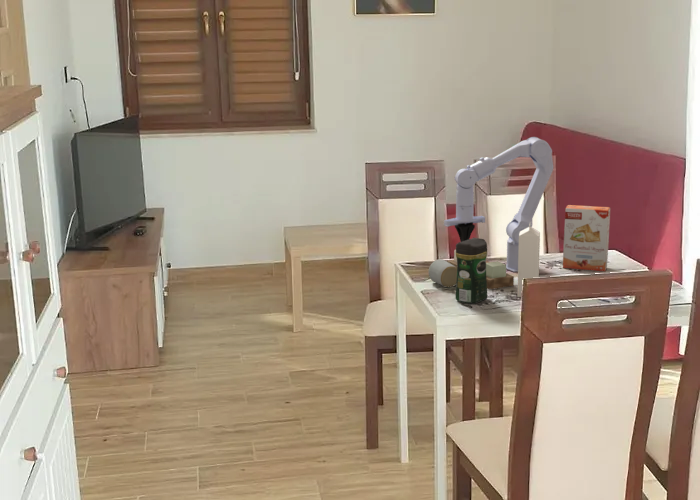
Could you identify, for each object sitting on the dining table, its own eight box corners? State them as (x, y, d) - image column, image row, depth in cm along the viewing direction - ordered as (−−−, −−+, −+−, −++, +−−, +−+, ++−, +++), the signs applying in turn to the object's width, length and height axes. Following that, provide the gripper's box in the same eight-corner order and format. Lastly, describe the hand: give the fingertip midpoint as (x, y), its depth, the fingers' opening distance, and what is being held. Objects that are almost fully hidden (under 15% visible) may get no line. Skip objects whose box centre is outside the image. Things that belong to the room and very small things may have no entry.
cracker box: (562, 268, 287) (564, 207, 282) (565, 264, 292) (567, 204, 287) (605, 272, 281) (608, 209, 276) (607, 267, 287) (610, 206, 282)
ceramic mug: (441, 289, 266) (441, 265, 264) (427, 283, 273) (428, 260, 272) (470, 285, 271) (470, 262, 269) (456, 279, 278) (456, 256, 276)
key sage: (497, 273, 273) (497, 261, 272) (506, 277, 268) (506, 264, 268) (483, 275, 271) (484, 263, 270) (492, 279, 267) (492, 266, 266)
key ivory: (467, 259, 290) (467, 248, 289) (474, 263, 286) (474, 251, 285) (454, 261, 288) (454, 250, 287) (461, 265, 284) (461, 253, 283)
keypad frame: (469, 265, 293) (469, 257, 292) (513, 285, 268) (513, 276, 268) (447, 269, 290) (447, 260, 289) (489, 289, 265) (489, 280, 265)
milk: (517, 297, 257) (518, 225, 252) (518, 291, 263) (519, 221, 257) (538, 298, 255) (539, 225, 250) (538, 292, 261) (540, 221, 256)
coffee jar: (469, 293, 261) (470, 234, 257) (491, 298, 256) (492, 238, 252) (450, 301, 254) (450, 240, 250) (472, 306, 249) (473, 244, 245)
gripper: (477, 201, 289) (477, 240, 292) (439, 205, 283) (439, 245, 287) (488, 204, 282) (487, 244, 286) (450, 208, 277) (449, 249, 280)
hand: (464, 245), depth 286 cm, fingers closed
